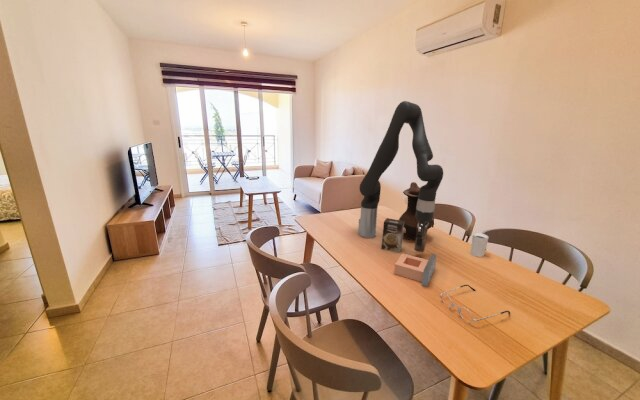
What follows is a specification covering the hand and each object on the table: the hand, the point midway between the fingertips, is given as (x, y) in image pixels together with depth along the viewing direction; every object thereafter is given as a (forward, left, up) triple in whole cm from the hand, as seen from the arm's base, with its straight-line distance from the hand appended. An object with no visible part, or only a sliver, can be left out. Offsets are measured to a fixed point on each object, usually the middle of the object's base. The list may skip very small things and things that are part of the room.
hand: (420, 243), depth 123 cm
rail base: (-2, -16, -8) cm, 18 cm away
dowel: (0, 0, -3) cm, 3 cm away
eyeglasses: (+24, -25, -9) cm, 36 cm away
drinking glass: (+23, +21, -8) cm, 33 cm away
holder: (0, -16, -7) cm, 17 cm away
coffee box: (-14, +1, -8) cm, 16 cm away
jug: (-9, +26, -8) cm, 29 cm away
